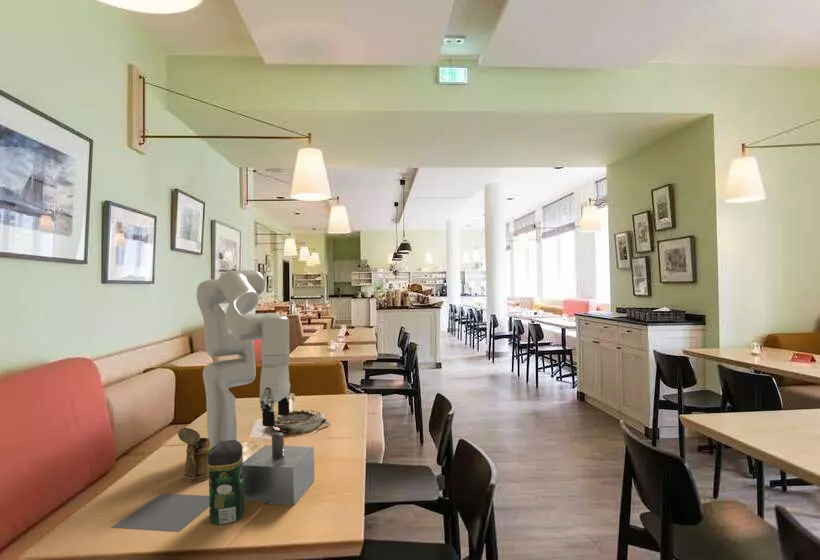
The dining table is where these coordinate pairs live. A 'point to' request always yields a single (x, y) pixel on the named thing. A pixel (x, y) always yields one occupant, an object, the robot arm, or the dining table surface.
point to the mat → (166, 513)
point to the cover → (278, 473)
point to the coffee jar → (226, 482)
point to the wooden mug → (195, 455)
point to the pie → (299, 421)
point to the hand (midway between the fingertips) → (276, 420)
